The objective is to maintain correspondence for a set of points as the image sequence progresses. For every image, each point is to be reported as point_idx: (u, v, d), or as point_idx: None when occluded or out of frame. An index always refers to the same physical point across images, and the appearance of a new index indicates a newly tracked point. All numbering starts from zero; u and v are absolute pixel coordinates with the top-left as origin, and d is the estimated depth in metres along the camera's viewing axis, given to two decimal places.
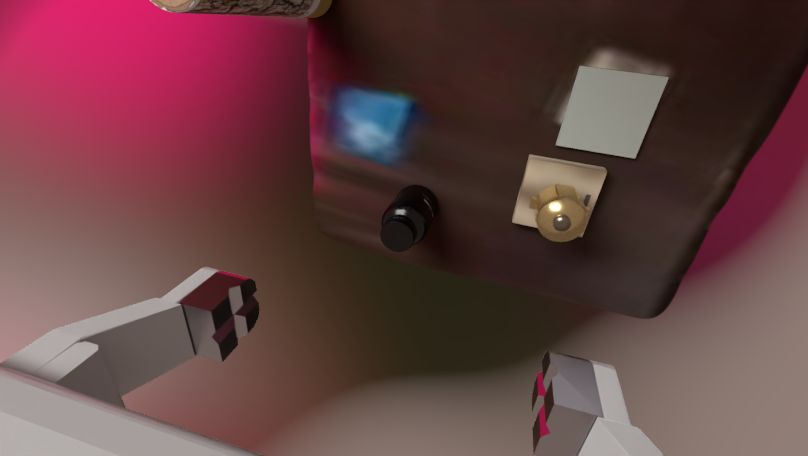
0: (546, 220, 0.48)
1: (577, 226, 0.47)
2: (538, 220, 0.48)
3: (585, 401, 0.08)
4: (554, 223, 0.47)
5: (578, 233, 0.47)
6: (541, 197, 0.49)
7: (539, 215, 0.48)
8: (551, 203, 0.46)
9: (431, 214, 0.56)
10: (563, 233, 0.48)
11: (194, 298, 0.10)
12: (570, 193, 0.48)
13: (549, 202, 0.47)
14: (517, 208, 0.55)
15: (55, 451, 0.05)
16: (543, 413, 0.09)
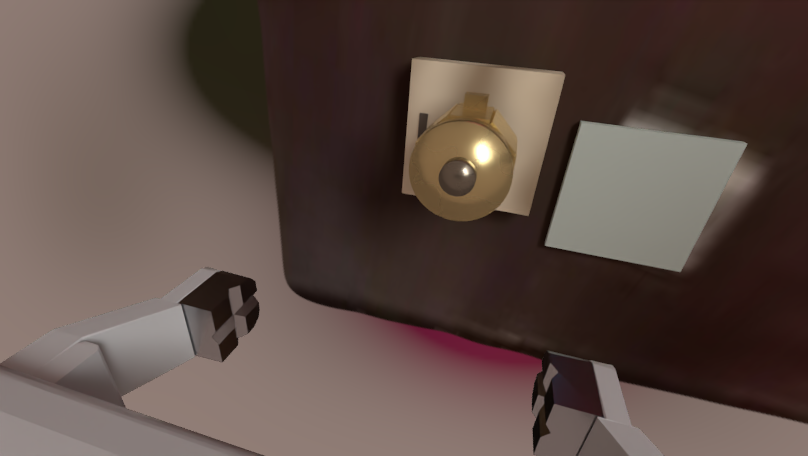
0: (458, 143, 0.20)
1: (450, 205, 0.22)
2: (456, 125, 0.20)
3: (585, 401, 0.08)
4: (457, 163, 0.20)
5: (434, 208, 0.23)
6: (496, 118, 0.22)
7: (470, 126, 0.20)
8: (503, 148, 0.20)
9: None
10: (430, 181, 0.22)
11: (194, 298, 0.10)
12: None
13: (503, 143, 0.20)
14: (446, 65, 0.26)
15: (55, 451, 0.05)
16: (543, 413, 0.09)
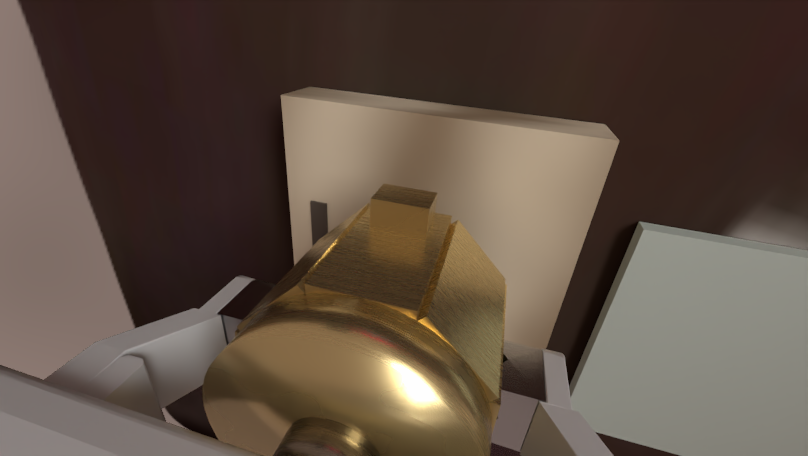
0: (317, 389, 0.07)
1: None
2: (303, 347, 0.06)
3: (530, 387, 0.08)
4: None
5: None
6: (448, 272, 0.08)
7: (343, 355, 0.06)
8: (453, 426, 0.06)
9: None
10: (265, 450, 0.08)
11: (233, 309, 0.09)
12: None
13: (456, 404, 0.06)
14: (351, 111, 0.12)
15: (55, 451, 0.05)
16: None
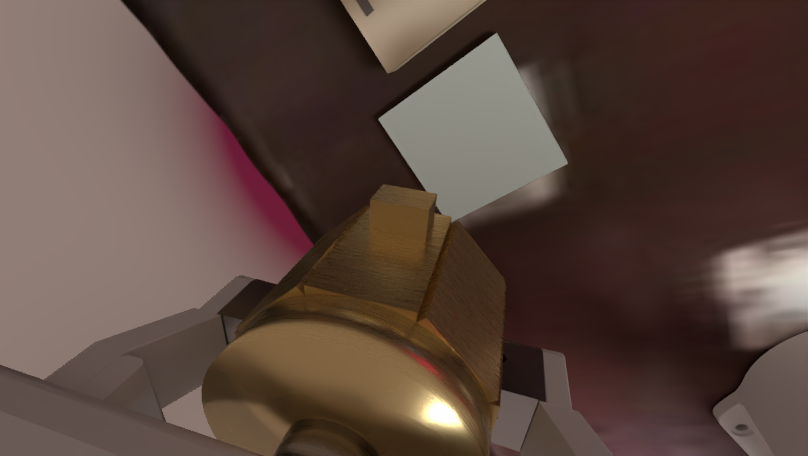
0: (317, 390, 0.07)
1: None
2: (302, 348, 0.06)
3: (530, 386, 0.08)
4: None
5: None
6: (448, 273, 0.08)
7: (343, 357, 0.06)
8: (453, 427, 0.06)
9: None
10: (265, 451, 0.08)
11: (233, 309, 0.09)
12: None
13: (456, 405, 0.06)
14: None
15: (55, 451, 0.05)
16: None
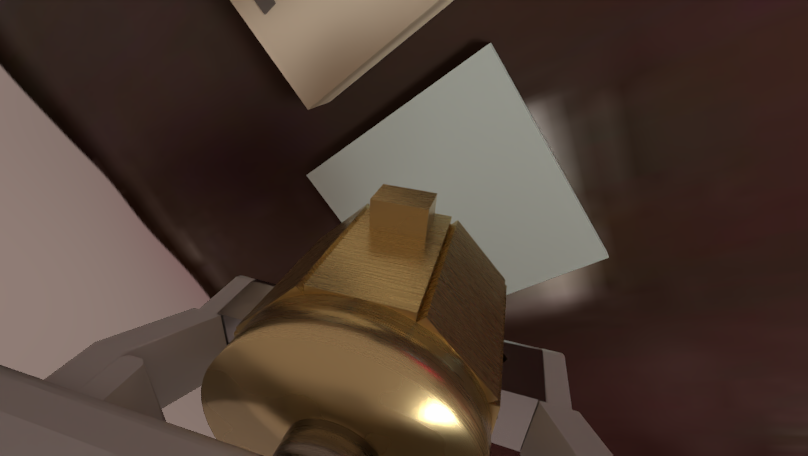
0: (316, 390, 0.07)
1: None
2: (302, 348, 0.06)
3: (530, 386, 0.08)
4: None
5: None
6: (448, 273, 0.08)
7: (342, 356, 0.06)
8: (453, 427, 0.06)
9: None
10: (264, 451, 0.08)
11: (233, 309, 0.09)
12: None
13: (456, 405, 0.06)
14: None
15: (55, 451, 0.05)
16: None
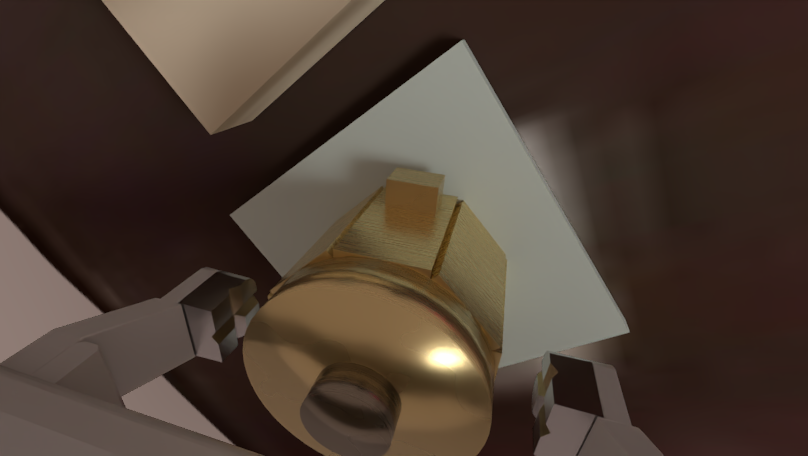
0: (346, 335, 0.08)
1: None
2: (336, 297, 0.07)
3: (585, 401, 0.08)
4: (339, 397, 0.07)
5: (315, 444, 0.10)
6: (456, 242, 0.09)
7: (370, 303, 0.07)
8: (462, 363, 0.07)
9: None
10: (296, 397, 0.09)
11: (194, 298, 0.10)
12: None
13: (465, 345, 0.07)
14: None
15: (55, 451, 0.05)
16: (543, 413, 0.09)
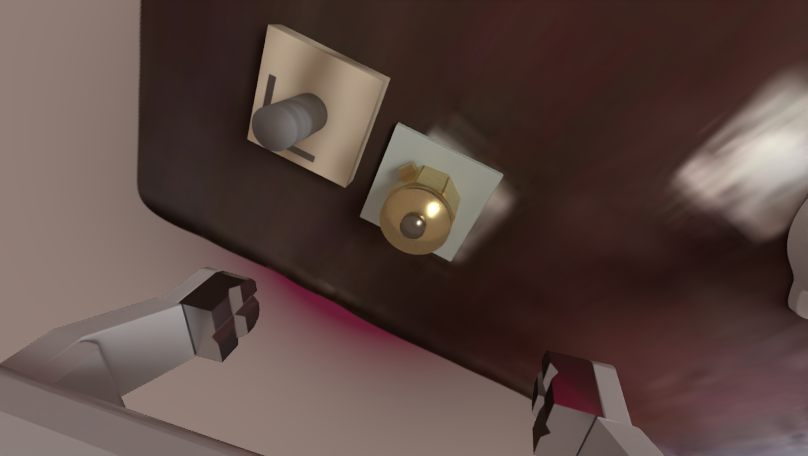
0: (401, 206, 0.30)
1: (422, 244, 0.31)
2: (393, 196, 0.30)
3: (585, 401, 0.08)
4: (405, 219, 0.29)
5: (414, 251, 0.31)
6: (422, 175, 0.31)
7: (401, 193, 0.29)
8: (427, 195, 0.29)
9: None
10: (401, 236, 0.31)
11: (194, 298, 0.10)
12: (453, 203, 0.31)
13: (427, 191, 0.29)
14: (295, 40, 0.30)
15: (55, 451, 0.05)
16: (543, 413, 0.09)
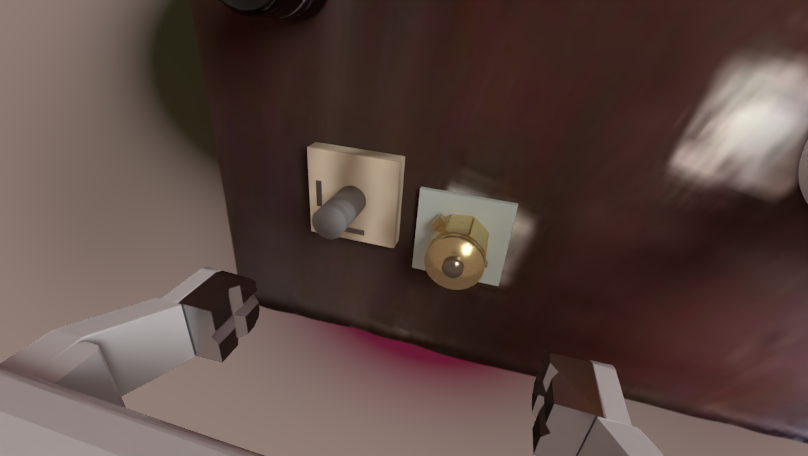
0: (439, 253, 0.36)
1: (465, 280, 0.37)
2: (431, 248, 0.36)
3: (585, 401, 0.08)
4: (445, 263, 0.36)
5: (461, 287, 0.37)
6: (450, 223, 0.38)
7: (435, 244, 0.36)
8: (457, 240, 0.35)
9: (282, 16, 0.31)
10: (446, 277, 0.37)
11: (194, 299, 0.10)
12: (482, 239, 0.37)
13: (455, 237, 0.35)
14: (328, 152, 0.39)
15: (55, 451, 0.05)
16: (543, 413, 0.09)
